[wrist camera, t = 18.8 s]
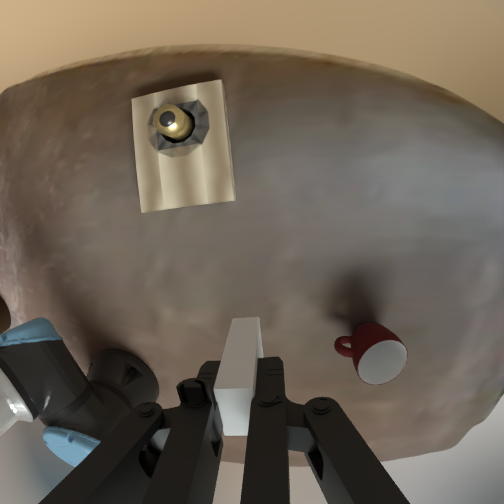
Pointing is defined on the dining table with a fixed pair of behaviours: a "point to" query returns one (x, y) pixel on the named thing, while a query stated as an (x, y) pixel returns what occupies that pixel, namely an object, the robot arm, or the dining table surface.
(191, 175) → the jig
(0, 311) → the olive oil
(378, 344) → the mug
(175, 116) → the cylinder with metal cap
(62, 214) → the dining table surface
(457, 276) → the dining table surface
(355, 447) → the robot arm
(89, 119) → the dining table surface
